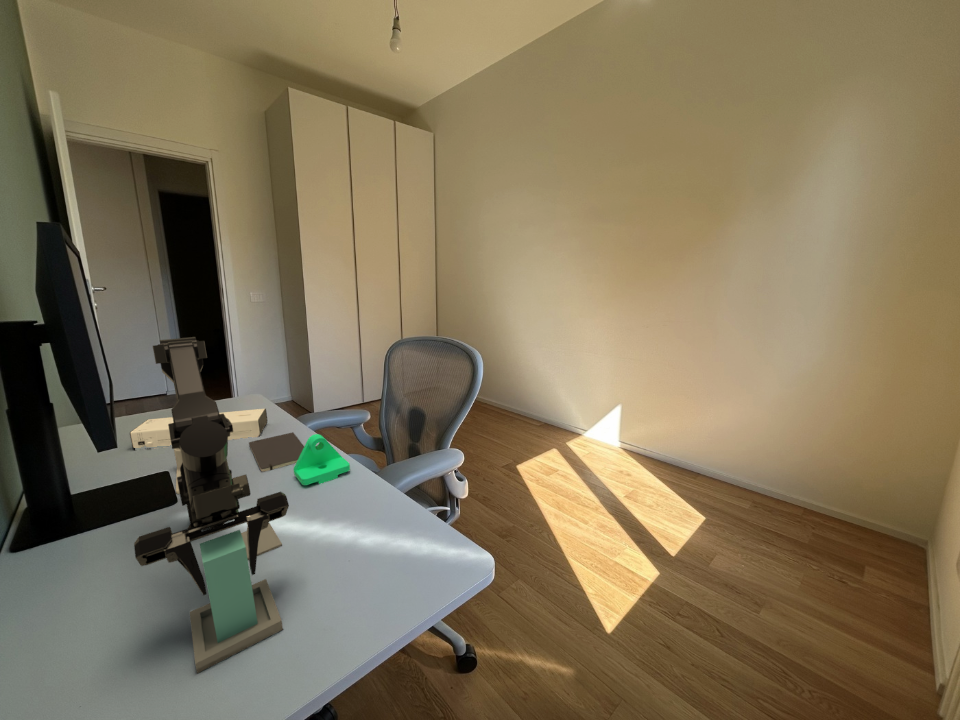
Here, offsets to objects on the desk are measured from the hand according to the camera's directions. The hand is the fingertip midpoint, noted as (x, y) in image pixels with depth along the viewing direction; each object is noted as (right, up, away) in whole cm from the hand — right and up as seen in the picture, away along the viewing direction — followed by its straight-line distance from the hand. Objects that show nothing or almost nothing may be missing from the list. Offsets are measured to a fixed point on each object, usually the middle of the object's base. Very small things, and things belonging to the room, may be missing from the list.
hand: (230, 584), depth 56 cm
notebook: (-23, +4, +60) cm, 64 cm away
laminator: (-52, +7, +71) cm, 88 cm away
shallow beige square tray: (-1, -8, +3) cm, 8 cm away
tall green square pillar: (-1, -7, +3) cm, 8 cm away
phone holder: (-37, +2, +47) cm, 60 cm away
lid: (-9, -4, +20) cm, 23 cm away
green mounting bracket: (-5, +2, +46) cm, 47 cm away
